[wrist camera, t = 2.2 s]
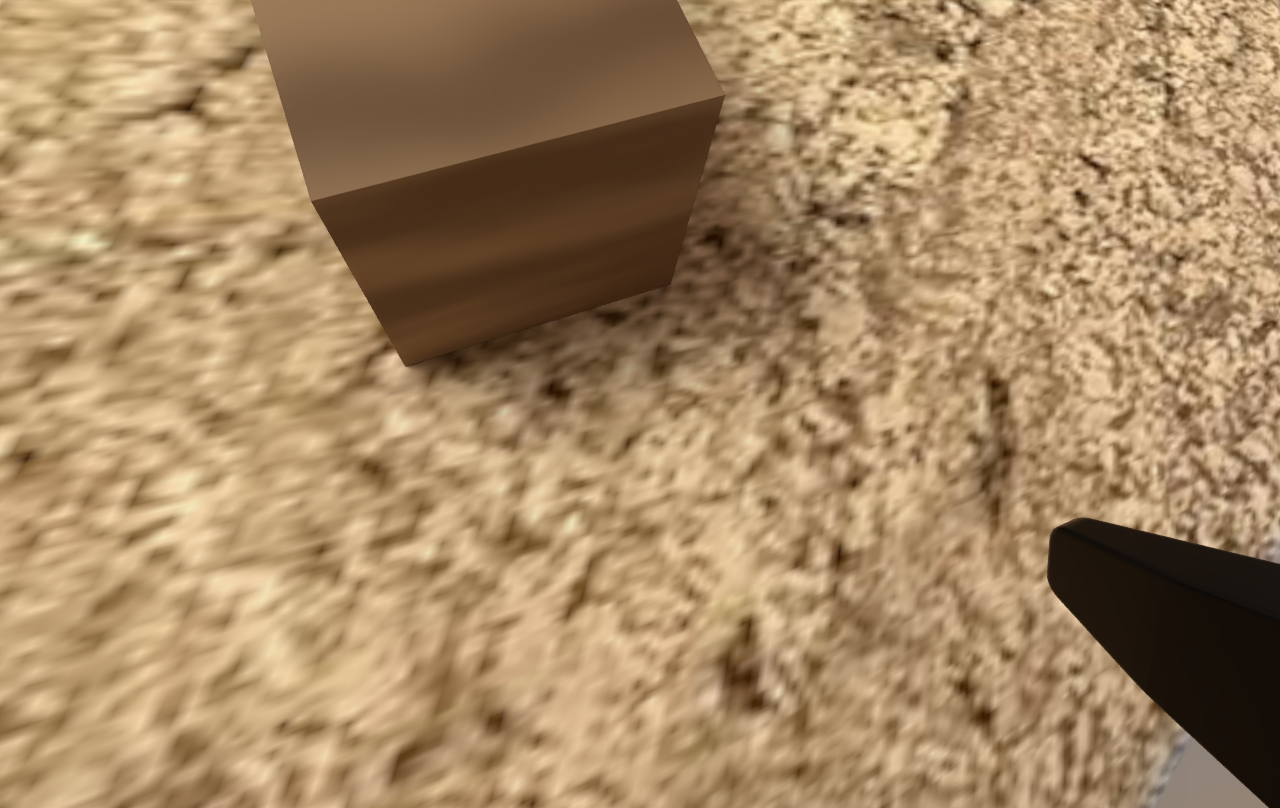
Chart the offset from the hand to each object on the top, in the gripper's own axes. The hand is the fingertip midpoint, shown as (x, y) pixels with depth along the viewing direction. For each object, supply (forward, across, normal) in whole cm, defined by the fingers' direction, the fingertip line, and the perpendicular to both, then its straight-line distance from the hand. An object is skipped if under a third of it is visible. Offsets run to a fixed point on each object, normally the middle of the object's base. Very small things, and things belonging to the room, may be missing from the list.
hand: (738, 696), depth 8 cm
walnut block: (+22, -1, -5) cm, 23 cm away
